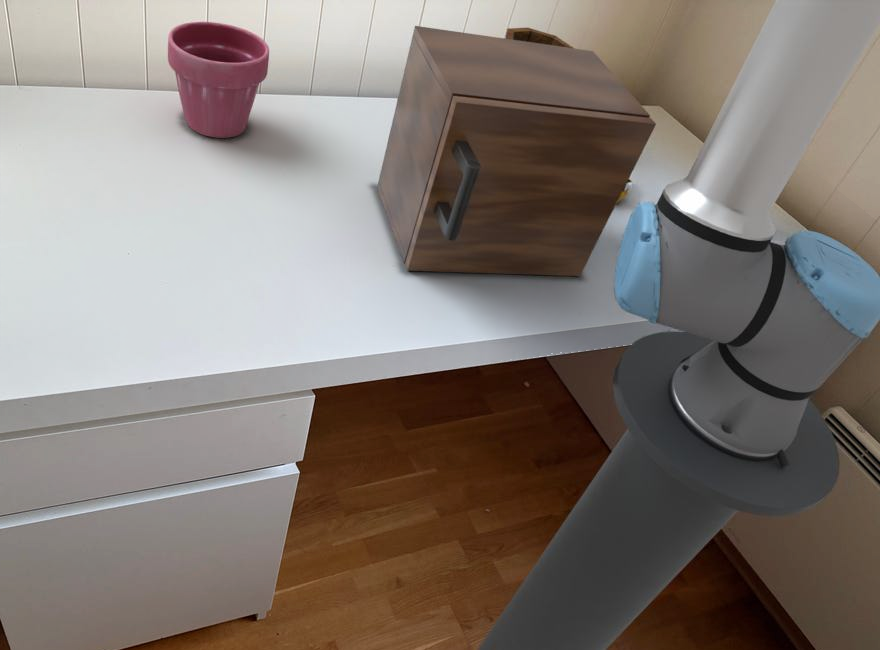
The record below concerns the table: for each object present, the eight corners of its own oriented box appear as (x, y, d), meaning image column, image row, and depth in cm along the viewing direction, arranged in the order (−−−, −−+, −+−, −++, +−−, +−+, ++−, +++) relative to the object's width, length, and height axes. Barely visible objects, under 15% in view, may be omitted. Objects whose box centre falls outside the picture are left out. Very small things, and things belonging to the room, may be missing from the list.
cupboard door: (596, 303, 103) (678, 149, 87) (417, 299, 95) (471, 128, 79) (576, 269, 108) (651, 117, 92) (404, 263, 100) (453, 95, 83)
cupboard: (575, 269, 108) (650, 115, 92) (403, 263, 100) (452, 92, 83) (532, 198, 120) (593, 50, 104) (376, 187, 112) (414, 25, 95)
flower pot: (197, 91, 120) (200, 10, 112) (276, 121, 119) (286, 42, 111) (148, 125, 110) (147, 39, 101) (234, 158, 109) (241, 74, 100)
